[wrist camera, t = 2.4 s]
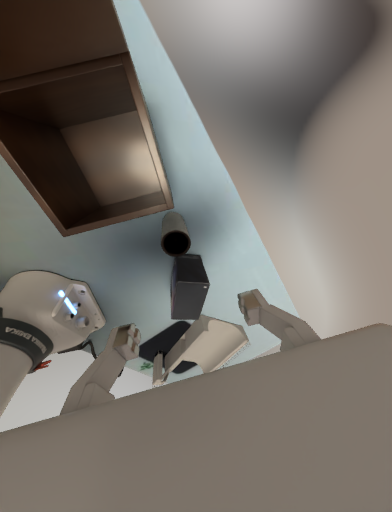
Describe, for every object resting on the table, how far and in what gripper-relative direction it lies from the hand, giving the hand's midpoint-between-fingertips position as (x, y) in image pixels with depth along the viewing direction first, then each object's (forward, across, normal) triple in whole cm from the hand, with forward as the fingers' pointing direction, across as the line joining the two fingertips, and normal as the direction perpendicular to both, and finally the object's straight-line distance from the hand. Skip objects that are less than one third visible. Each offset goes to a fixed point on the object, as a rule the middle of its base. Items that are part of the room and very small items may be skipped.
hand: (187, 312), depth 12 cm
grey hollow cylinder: (+24, 0, 0) cm, 24 cm away
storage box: (+23, -6, +12) cm, 27 cm away
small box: (+24, -1, -14) cm, 27 cm away
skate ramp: (+24, -4, -46) cm, 52 cm away
